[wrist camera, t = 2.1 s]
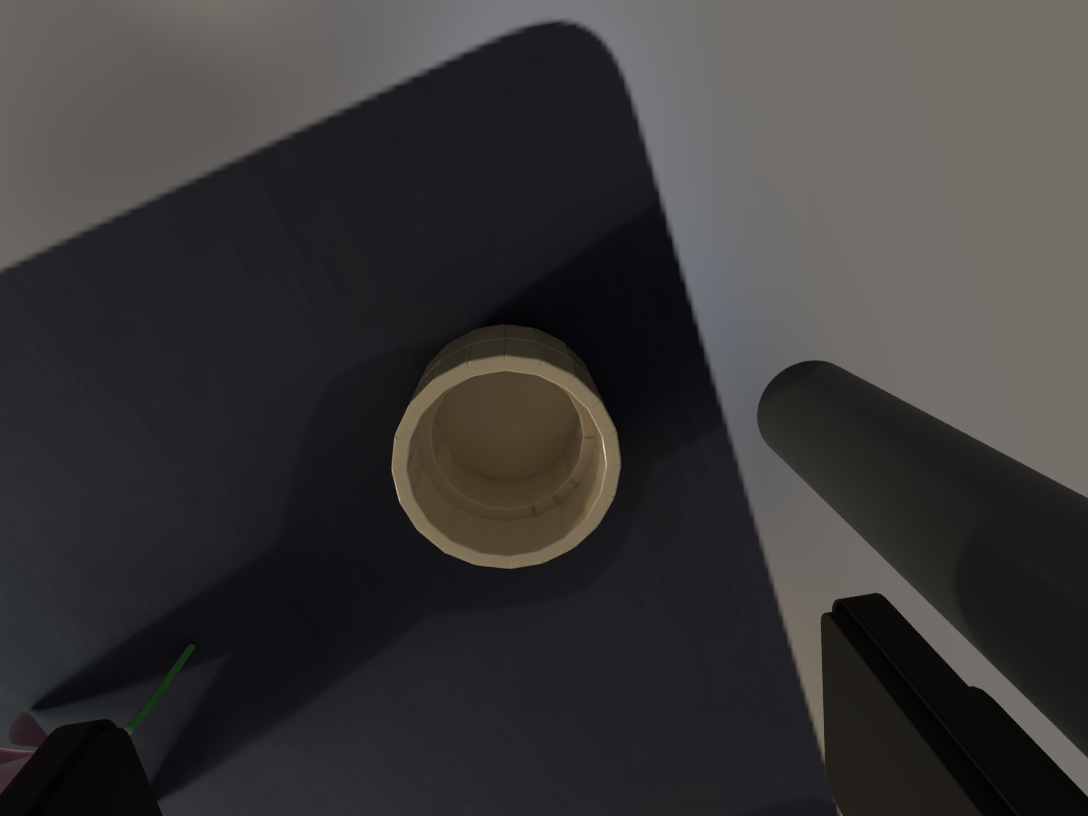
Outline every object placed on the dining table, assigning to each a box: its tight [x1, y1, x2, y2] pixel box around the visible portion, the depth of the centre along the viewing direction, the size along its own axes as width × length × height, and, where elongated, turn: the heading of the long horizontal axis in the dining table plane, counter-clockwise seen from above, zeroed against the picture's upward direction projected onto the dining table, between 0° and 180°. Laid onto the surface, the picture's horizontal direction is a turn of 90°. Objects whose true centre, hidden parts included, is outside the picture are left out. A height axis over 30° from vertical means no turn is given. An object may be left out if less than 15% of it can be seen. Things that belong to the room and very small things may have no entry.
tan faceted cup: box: [391, 324, 621, 569], centre depth 24 cm, size 7×7×6 cm
